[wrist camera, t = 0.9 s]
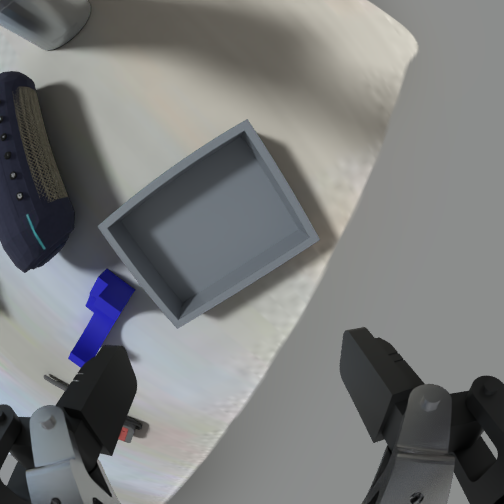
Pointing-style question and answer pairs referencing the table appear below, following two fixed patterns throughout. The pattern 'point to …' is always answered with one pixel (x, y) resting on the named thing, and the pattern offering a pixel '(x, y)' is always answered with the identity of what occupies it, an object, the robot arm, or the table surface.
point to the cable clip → (101, 315)
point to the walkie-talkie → (128, 424)
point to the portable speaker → (29, 179)
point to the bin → (210, 225)
